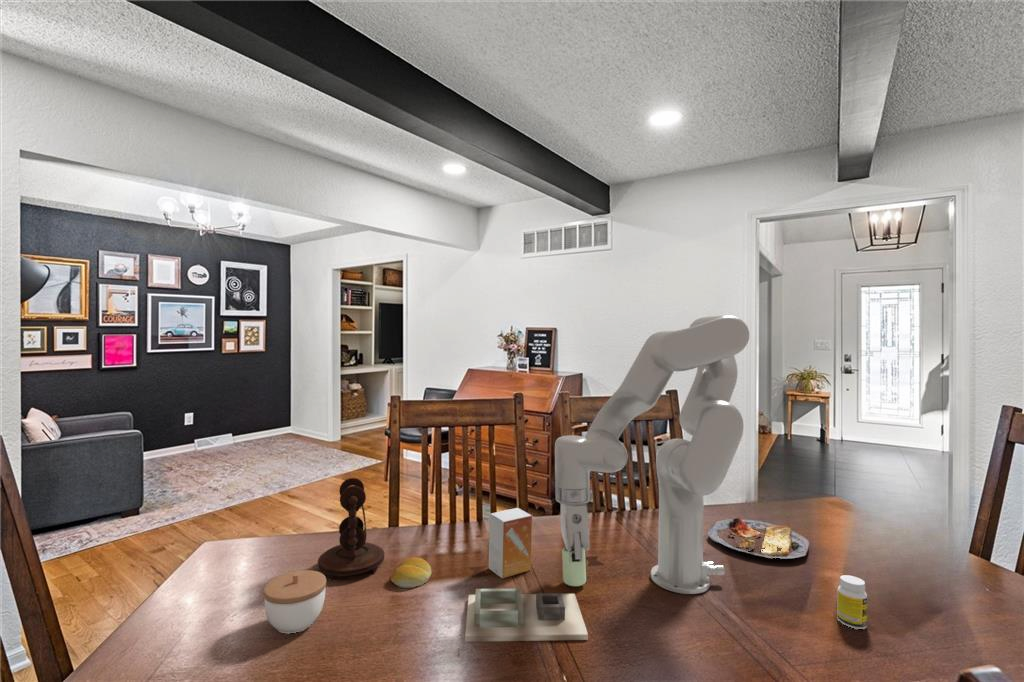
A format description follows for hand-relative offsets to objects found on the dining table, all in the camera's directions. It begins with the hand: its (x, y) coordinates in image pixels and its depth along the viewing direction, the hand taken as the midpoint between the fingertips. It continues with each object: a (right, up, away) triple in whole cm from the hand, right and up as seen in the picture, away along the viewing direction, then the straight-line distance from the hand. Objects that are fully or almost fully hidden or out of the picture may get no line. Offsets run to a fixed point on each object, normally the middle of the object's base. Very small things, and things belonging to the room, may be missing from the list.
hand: (573, 575), depth 108 cm
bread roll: (-36, -2, +2) cm, 36 cm away
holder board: (-11, -2, -14) cm, 18 cm away
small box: (-14, -2, +6) cm, 16 cm away
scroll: (-51, -1, +7) cm, 52 cm away
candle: (0, -1, 0) cm, 1 cm away
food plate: (+52, -3, +23) cm, 57 cm away
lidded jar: (-54, -2, -16) cm, 57 cm away
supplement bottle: (+52, -3, -14) cm, 54 cm away
